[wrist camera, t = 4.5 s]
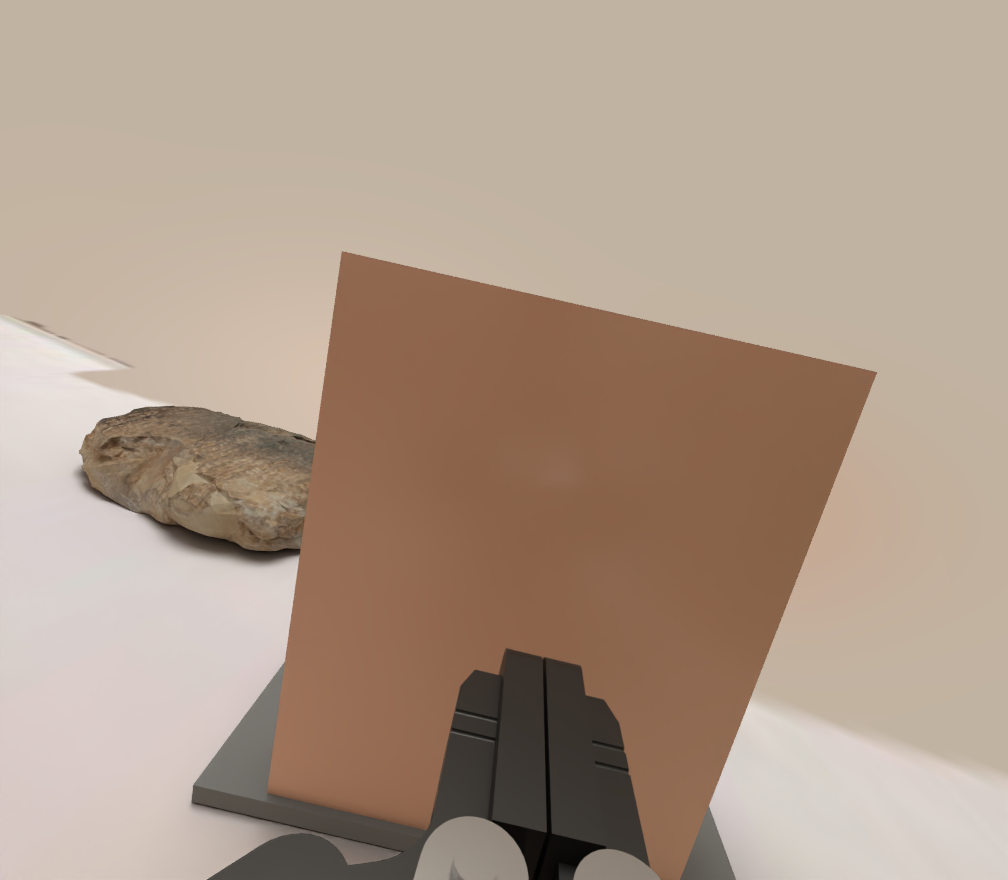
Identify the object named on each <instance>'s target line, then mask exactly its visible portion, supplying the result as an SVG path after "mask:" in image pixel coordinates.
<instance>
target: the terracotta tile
mask: <svg viewBox="0 0 1008 880" xmlns="http://www.w3.org/2000/svg"><path fill="white" fill-rule="evenodd" d="M876 374H877V372H873V371H869V370H865V369H861V368H856V367H852V366H847V365H843V364H838V363H834V362H830V361H825V360H821V359H816V358H812V357H807V356H803V355H798V354H794V353H790V352H785V351H781V350H776V349H772V348H768V347H763V346H759V345H754V344H750V343H745V342H741V341H737V340H732V339H728V338H723V337H719V336H715V335H710V334H706V333H701V332H697V331H692V330H688V329H683V328H679V327H675V326H670V325H666V324H661V323H657V322H653V321H648V320H643V319H639V318H635V317H630V316H626V315H621V314H617V313H613V312H608V311H604V310H599V309H595V308H590V307H586V306H582V305H576V304H573V303H568V302H564V301H559V300H555V299H551V298H546V297H542V296H537V295H533V294H529V293H524V292H519V291H515V290H511V289H506V288H502V287H497V286H493V285H489V284H484V283H480V282H475V281H471V280H467V279H462V278H458V277H453V276H449V275H444V274H440V273H436V272H431V271H427V270H422V269H418V268H413V267H409V266H404V265H400V264H396V263H391V262H387V261H382V260H378V259H374V258H369V257H365V256H360V255H356V254H352V253H347V252H342V254H341V262H340V269H339V277H338V283H337V290H336V298H335V305H334V312H333V319H332V328H331V335H330V342H329V348H328V355H327V363H326V371H325V377H324V385H323V392H322V399H321V407H320V413H319V420H318V428H317V436H316V442H315V449H314V457H313V464H312V471H311V478H310V485H309V493H308V500H307V507H306V514H305V521H304V529H303V536H302V543H301V550H300V558H299V565H298V572H297V579H296V586H295V594H294V601H293V608H292V615H291V623H290V630H289V637H288V644H287V651H286V659H285V666H284V673H283V680H282V688H281V695H280V702H279V709H278V716H277V724H276V731H275V738H274V745H273V753H272V760H271V767H270V774H269V781H268V789H267V793H268V794H273V795H277V796H281V797H285V798H290V799H294V800H298V801H302V802H307V803H311V804H315V805H320V806H324V807H328V808H332V809H337V810H341V811H345V812H350V813H354V814H358V815H362V816H367V817H371V818H375V819H379V820H384V821H388V822H392V823H397V824H401V825H405V826H409V827H414V828H418V829H422V830H427V829H428V827H429V824H430V820H431V816H432V811H433V806H434V802H435V797H436V792H437V787H438V783H439V778H440V773H441V768H442V764H443V759H444V754H445V750H446V745H447V741H448V737H449V733H450V728H451V724H452V720H453V715H454V711H455V707H456V702H457V698H458V694H459V690H460V686H461V685H462V683H463V682H464V681H465V680H466V679H467V678H468V677H469V676H470V674H471V673H472V672H473V671H474V670H479V671H484V672H488V673H492V674H496V675H499V671H500V667H501V663H502V659H503V655H504V652H505V649H506V648H507V649H512V650H516V651H520V652H525V653H529V654H533V655H537V656H542V659H543V658H544V657H547V658H551V659H555V660H560V661H564V662H568V663H573V664H577V665H580V666H581V668H582V673H583V680H584V687H585V694H586V695H587V696H591V697H596V698H600V699H604V700H605V702H606V703H607V705H608V706H609V708H610V710H611V711H612V713H613V714H614V716H615V717H616V719H617V720H618V722H619V725H620V729H621V734H622V739H623V743H624V753H626V757H627V762H628V767H629V775H630V776H631V781H632V785H633V790H634V795H635V799H636V804H637V809H638V813H639V818H640V823H641V827H642V832H643V837H644V841H645V846H646V851H647V855H648V860H649V864H650V867H651V869H652V870H653V871H654V872H655V873H656V874H657V875H658V876H659V878H660V879H661V880H680V878H681V876H682V873H683V871H684V868H685V866H686V863H687V860H688V858H689V855H690V853H691V850H692V848H693V845H694V842H695V840H696V837H697V835H698V832H699V829H700V827H701V824H702V822H703V819H704V817H705V814H706V811H707V809H708V806H709V804H710V801H711V799H712V796H713V793H714V791H715V788H716V786H717V783H718V781H719V778H720V775H721V773H722V770H723V768H724V765H725V763H726V760H727V757H728V755H729V752H730V750H731V747H732V744H733V742H734V739H735V737H736V734H737V732H738V729H739V726H740V724H741V721H742V719H743V716H744V714H745V711H746V708H747V706H748V703H749V701H750V698H751V696H752V693H753V690H754V688H755V685H756V683H757V680H758V678H759V675H760V672H761V670H762V667H763V664H764V662H765V659H766V657H767V654H768V652H769V649H770V647H771V644H772V641H773V639H774V636H775V633H776V631H777V629H778V626H779V623H780V621H781V618H782V616H783V613H784V610H785V608H786V605H787V603H788V600H789V597H790V595H791V593H792V590H793V587H794V585H795V582H796V579H797V577H798V574H799V572H800V569H801V567H802V564H803V562H804V559H805V556H806V554H807V551H808V549H809V546H810V544H811V541H812V538H813V536H814V533H815V531H816V528H817V525H818V523H819V520H820V518H821V515H822V513H823V510H824V508H825V505H826V502H827V500H828V497H829V495H830V492H831V489H832V487H833V484H834V481H835V479H836V476H837V474H838V471H839V469H840V466H841V464H842V461H843V459H844V456H845V453H846V451H847V448H848V446H849V443H850V441H851V438H852V435H853V433H854V430H855V428H856V425H857V423H858V420H859V417H860V415H861V412H862V410H863V407H864V404H865V402H866V399H867V397H868V394H869V392H870V389H871V386H872V383H873V381H874V379H875V376H876Z"/></svg>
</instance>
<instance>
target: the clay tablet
mask: <svg viewBox="0 0 1008 880" xmlns="http://www.w3.org/2000/svg"><path fill="white" fill-rule="evenodd" d="M315 442H316V440H312V439H310V438H307V437H305V436H303V435H300V434H296V433H291V432H288V431H286V430H283V429H280V428H275V427H271V426H267V425H264V424H261V423H254V422H249V421H243V420H241V418H240V417H233V416H230V415H227V414H223V413H222V412H214V411H211V410H208V409H204V408H198V407H176V406H162V407H144V408H139V409H134V410H132V411H131V412H130V413H127V414H125V415H121V416H116V417H111V418H105V419H102V420H100V421H99V422H97V424H96V427H95V429H94V430H93V431H92V432H91V434H88V435H86V437H85V439H84V441H83V445H82V447H81V449H80V450H79V453H80V454H81V455H82V458H83V463H84V464H83V465H82V466H81V467H82V468H83V469H84V471H85V472H86V473H87V475H88V478H89V481H90V484H91V487H93V488H95V489H96V490H98V491H100V492H102V493H103V494H104V495H105V496H107V497H109V498H111V499H112V500H114V501H115V502H117V503H119V504H120V505H122V506H124V507H126V508H128V509H129V510H131V511H132V512H136V513H145V514H150V515H151V516H152V517H153V518H154V519H156V520H157V521H159V522H161V523H165V524H168V525H181V526H183V527H185V528H187V529H190V530H192V531H195V532H197V533H200V534H203V535H206V536H211V537H216V538H222V539H226V540H228V541H229V542H233V543H237V544H239V545H240V546H241V547H243V548H245V549H249V550H257V551H277V550H281V549H284V548H292V549H301V543H302V536H303V529H304V521H305V514H306V507H307V500H308V493H309V485H310V478H311V471H312V464H313V457H314V449H315Z"/></svg>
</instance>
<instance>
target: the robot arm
mask: <svg viewBox="0 0 1008 880" xmlns="http://www.w3.org/2000/svg"><path fill="white" fill-rule="evenodd" d="M207 880H661V879H660V878H659V876H658V875H657V874H656V873H655V872H654V871H653V870H652V869H651V867H650V864H649V860H648V855H647V851H646V846H645V841H644V837H643V832H642V827H641V823H640V818H639V813H638V809H637V804H636V799H635V795H634V790H633V785H632V781H631V776H630V775H629V767H628V762H627V757H626V753H624V743H623V739H622V734H621V729H620V725H619V722H618V720H617V719H616V717H615V716H614V714H613V713H612V711H611V710H610V708H609V706H608V705H607V703H606V702H605V700H604V699H600V698H596V697H591V696H587V695H586V694H585V687H584V680H583V673H582V668H581V666H580V665H577V664H573V663H568V662H564V661H560V660H555V659H551V658H547V657H544V658H543V659H542V656H537V655H533V654H529V653H525V652H520V651H516V650H512V649H507V648H506V649H505V652H504V655H503V659H502V663H501V667H500V671H499V675H496V674H492V673H488V672H484V671H479V670H474V671H473V672H472V673H471V674H470V676H469V677H468V678H467V679H466V680H465V681H464V682H463V683H462V685H461V686H460V690H459V694H458V698H457V702H456V707H455V711H454V715H453V720H452V724H451V728H450V733H449V737H448V741H447V745H446V750H445V754H444V759H443V764H442V768H441V773H440V778H439V783H438V787H437V792H436V797H435V802H434V806H433V811H432V816H431V820H430V824H429V827H428V829H427V830H426V831H425V833H424V834H423V836H422V837H421V838H420V839H419V840H418V841H417V842H416V843H415V844H414V845H413V846H412V847H410V848H409V849H408V850H406V851H405V852H403V853H401V854H399V855H398V856H395V857H392V858H390V859H387V860H382V861H377V862H370V863H362V864H355V865H347V863H346V861H345V859H344V857H343V855H342V854H341V853H340V851H339V850H338V849H337V848H336V847H335V846H334V845H333V844H331V843H330V842H329V841H327V840H325V839H323V838H321V837H318V836H315V835H312V834H302V833H300V834H289V835H285V836H280V837H278V838H275V839H272V840H270V841H268V842H266V843H264V844H263V845H261V846H259V847H257V848H256V849H254V850H253V851H251V852H250V853H248V854H246V855H245V856H243V857H242V858H240V859H239V860H237V861H235V862H234V863H232V864H231V865H229V866H228V867H226V868H224V869H223V870H221V871H220V872H218V873H217V874H215V875H213V876H212V877H210V878H209V879H207Z"/></svg>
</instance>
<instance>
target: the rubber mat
mask: <svg viewBox="0 0 1008 880" xmlns="http://www.w3.org/2000/svg"><path fill="white" fill-rule="evenodd" d="M284 666H285V662H284V664H283V665H282V667H281V668H280V669H279V671H278V672H277V673H276V675H275V676H274V677H273V679H272V680H271V681H270V683H269V684H268V685H267V687H266V688H265V689H264V691H263V692H262V693H261V695H260V696H259V697H258V699H257V700H256V701H255V703H254V704H253V706H252V707H251V708H250V710H249V711H248V712H247V714H246V715H245V716H244V718H243V719H242V720H241V722H240V723H239V724H238V726H237V727H236V728H235V730H234V731H233V732H232V734H231V735H230V736H229V738H228V739H227V740H226V742H225V743H224V744H223V746H222V747H221V749H220V750H219V751H218V753H217V754H216V755H215V757H214V758H213V759H212V761H211V762H210V763H209V765H208V766H207V767H206V769H205V770H204V771H203V773H202V774H201V775H200V777H199V778H198V779H197V781H196V782H195V783H194V785H193V794H192V802H194V803H199V804H203V805H207V806H212V807H216V808H220V809H224V810H229V811H233V812H237V813H241V814H246V815H250V816H254V817H259V818H263V819H267V820H271V821H276V822H280V823H284V824H288V825H293V826H297V827H301V828H305V829H310V830H314V831H318V832H323V833H327V834H331V835H335V836H340V837H344V838H348V839H352V840H357V841H361V842H365V843H370V844H374V845H378V846H382V847H387V848H391V849H395V850H399V851H404V852H405V851H406V850H408V849H409V848H410V847H412V846H413V845H414V844H415V843H416V842H417V841H418V840H419V839H420V838H421V837H422V836H423V834H424V833H425V831H426V830H422V829H418V828H414V827H409V826H405V825H401V824H397V823H392V822H388V821H384V820H379V819H375V818H371V817H367V816H362V815H358V814H354V813H350V812H345V811H341V810H337V809H332V808H328V807H324V806H320V805H315V804H311V803H307V802H302V801H298V800H294V799H290V798H285V797H281V796H277V795H273V794H268V793H267V789H268V781H269V774H270V767H271V760H272V753H273V745H274V738H275V731H276V724H277V716H278V709H279V702H280V695H281V688H282V680H283V673H284ZM680 880H736V879H735V876H734V873H733V871H732V868H731V865H730V863H729V860H728V857H727V854H726V852H725V849H724V846H723V843H722V841H721V838H720V835H719V833H718V830H717V827H716V824H715V822H714V819H713V816H712V814H711V811H710V808H709V806H708V809H707V811H706V814H705V817H704V819H703V822H702V824H701V827H700V829H699V832H698V835H697V837H696V840H695V842H694V845H693V848H692V850H691V853H690V855H689V858H688V860H687V863H686V866H685V868H684V871H683V873H682V876H681V878H680Z"/></svg>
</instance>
